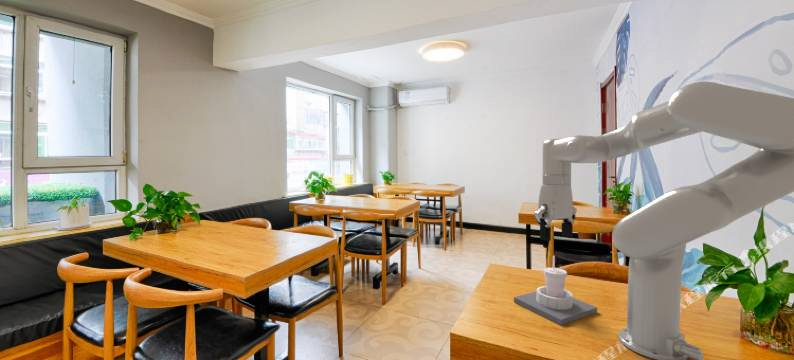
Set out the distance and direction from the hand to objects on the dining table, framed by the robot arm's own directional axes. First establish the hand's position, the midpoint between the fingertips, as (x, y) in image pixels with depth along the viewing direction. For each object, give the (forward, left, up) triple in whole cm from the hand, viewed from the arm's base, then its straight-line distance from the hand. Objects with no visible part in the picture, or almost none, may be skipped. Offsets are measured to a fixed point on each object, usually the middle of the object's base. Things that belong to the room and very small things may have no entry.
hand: (556, 238), depth 92 cm
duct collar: (0, 0, -21) cm, 21 cm away
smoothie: (0, 0, -20) cm, 20 cm away
